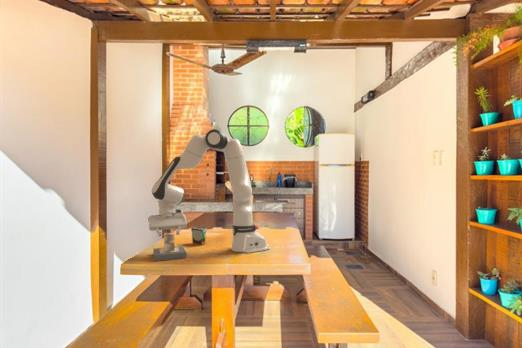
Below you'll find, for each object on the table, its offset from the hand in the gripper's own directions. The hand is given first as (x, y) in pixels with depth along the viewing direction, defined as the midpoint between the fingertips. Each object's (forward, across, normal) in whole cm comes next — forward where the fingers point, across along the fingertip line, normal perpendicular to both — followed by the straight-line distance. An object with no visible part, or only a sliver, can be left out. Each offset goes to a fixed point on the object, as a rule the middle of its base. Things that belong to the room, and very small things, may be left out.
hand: (169, 234), depth 184 cm
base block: (+8, 0, +8) cm, 11 cm away
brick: (+6, 0, +6) cm, 8 cm away
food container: (-8, +21, +25) cm, 34 cm away
